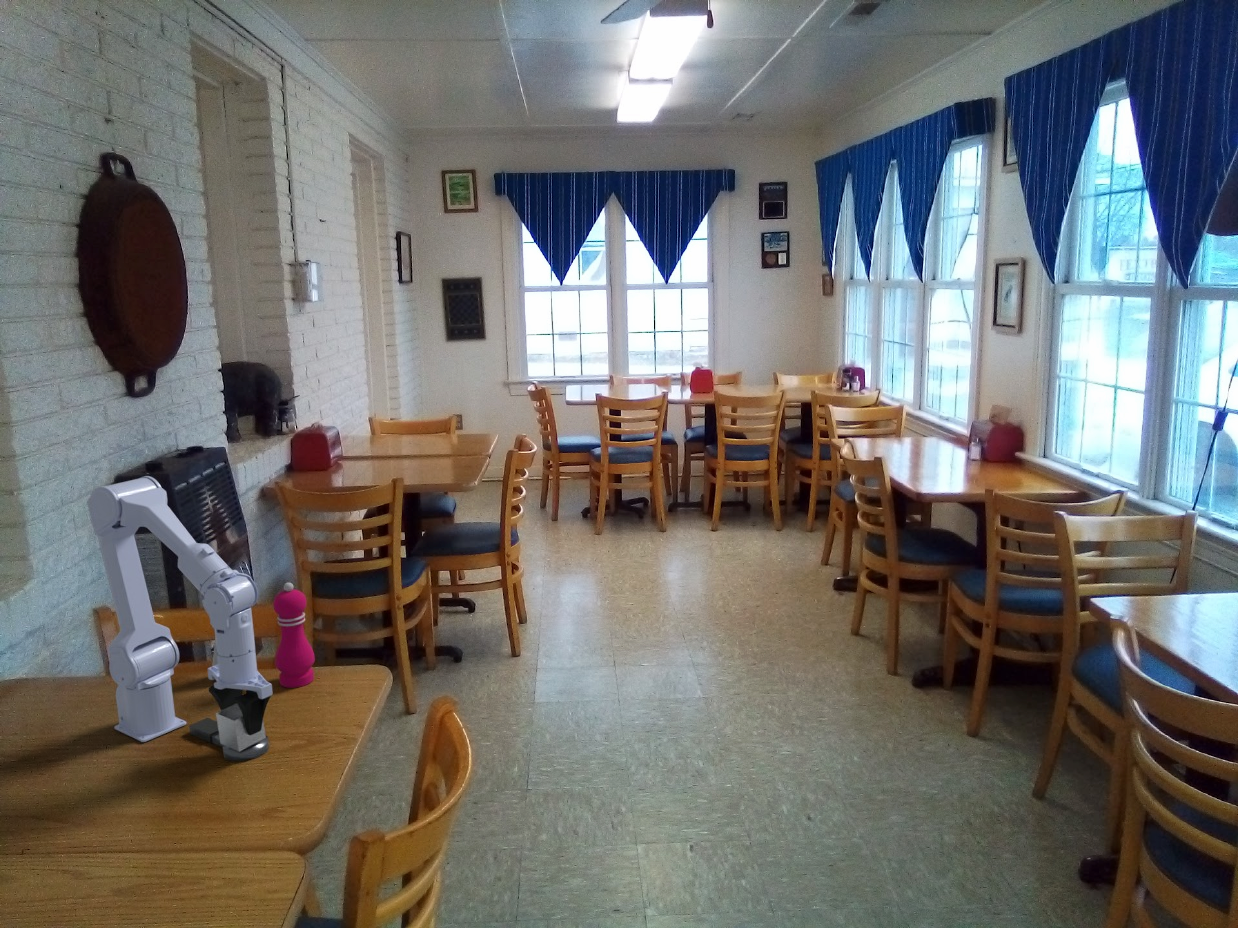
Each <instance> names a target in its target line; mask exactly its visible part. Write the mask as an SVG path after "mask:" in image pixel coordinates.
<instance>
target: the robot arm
mask: <svg viewBox="0 0 1238 928" xmlns="http://www.w3.org/2000/svg"><path fill="white" fill-rule="evenodd" d="M86 504H87V508H88V511H89V512H88V513H89V516H90V519H91V524H92V528H93V532H94V535H95V536H96V537H97V542H98V544H99V548H100V552H101V556H102V560H103V565H104V568H105V572H106V577H107V581H108V585H109V589H110V593H111V596H112V597H111V598H112V600H113V601H112V602H113V605H114V610H115V612H116V613H115V614H116V617H117V621H118V625H119V629H120V630H119V631H118V633H117V635H116V636H115V637H114V639H113V640H112V641H111V642H110V644H109V645H108V647H107V648H108V653H109V667H108V668H109V669H108V671H109V673H110V676H111V678H112V680H113V681H114V682H115V683H116V684H117V688H116V689H115V690H116V691H115V698H116V699H115V700H116V707H117V715H118V716H117V717H118V724H117V725H115V726H114V727H113V728H114V730H116V731H118V732H119V733H120V732H121V733H122V734H124V735H126V736H129V737H131V738H134V739H135V740H137V741H139V742H141V743H145V742H147V741H150V740H151V741H152V740H154V739H155V738H158V737H159V736H160V737H161V736H162V735H165V734H166V733H169V732H171V731H173V730H176V729H178V728H181V727H183V726H185V725H187V721H186V720H184V719H181V718H179V717H177V716H176V713H175V704H174V697H173V687H172V679H171V676H173V675H174V674H175V671H174V669H175V668H176V667H177V666H178V663H179V661H180V651H179V648H178V645H177V643H176V642H175V640H174V639H173V636H172V634H171V629H170V628H169V627H167V626H165V625H162V624H160V623H157V622H156V621H155V617H154V611H153V609H152V604H151V601H150V595H149V591H148V588H147V583H146V579H145V575H144V570H143V567H142V562H141V559H140V554H139V550H138V547H137V542H136V538H135V535H136V533H137V531H138V530H139V528H141V527H143V528H147V529H148V530H149V531H150V532H151V533H152V535H154V536H155V537H156V538H157V539H159V540H160V541H161V542H162V543H163V544H164V545H165V546H166V547H167V548H168V549H170V550H171V551H172V552H173V553H174V554H175V555H176V556H177V557H178V558H177V568H178V569H179V571H180V572H181V573H182V574H183V575H184V576H185V577H186V578H187V580H189V582H190V583H191V584H192V585H193V586H194V587H195V588H196V590H198V591H199V592H200V594H201V595H202V596H203V599H202V601H201V603H202V606H203V608H204V610H205V612H206V614H207V615H208V617H209V621H210V622H209V623H210V626H211V627H212V628H213V629H214V638H216V648H217V657H218V665H215V666H210V667H207V677H208V680H210V681H216V682H214V683H213V685H211V686H210V687H209V688H208V692H209V694H211V696H212V697H213V698H214V699H215V701H216V703H217V705H218V708H219V709H220V711H221V710H224V709H226V708H228V707H230V706H232V705H234V704H236V703H237V704H238V706H239V708H240V710H241V712H242V715H243V718H244V723H245V728H246V731H247V733H248V735H253V734H255V733H257V732H259V731H261V728H262V722H264V717H265V716H264V715H265V712H266V708H267V705H268V703H269V701H270V699H271V697H272V695H273V685H272V683H270V682H269V681H267V680H266V679H265V678H264V676H263V675H262V674H261V673H260V672H259V671H258V664H257V654H256V644H255V633H254V624H253V621H254V620H253V613H252V612H253V611H252V607H254V606H255V605H256V603H257V602H258V600H259V591H258V590H259V589H258V587H257V585H256V583H255V581H254V580H253V579H252V577H251V576H250V575H249V574H246V573H243V572H239V571H238V570H237V569H232V568H231V567H230V566H229V565H228V564H227V563H226V562H225V561H224V560H223V559H222V558H221V556H219V554H218V553H217V552H216V551H215V550H214V548H213V547H212V546H211V545H209V544H207V543H202V542H201V543H198V542H197V541H196V540H195V539H194V538H193V536H192V535H191V533H190V532H189V531H188V530H187V529H186V527H185V526H184V525H183V524H182V522H181V521H180V520H179V518H178V517H177V516H176V514H175V513H174V512H173V510H172V509H171V507H169V506H168V494H167V490H165V489H164V488H162V486H161V483H159V481H158V480H157V479H156V478H154V477H153V476H149V475H145V476H141V477H139V478H135V479H132V480H127V481H123V482H118V483H113V484H109V485H102V486H98V487H96V488H95V489H93V491H92V493H91V494H90V496H89V498H88V499H87V501H86ZM244 690H245V693H244V694H243V692H244Z"/></svg>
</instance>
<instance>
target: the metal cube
mask: <svg viewBox="0 0 1238 928" xmlns="http://www.w3.org/2000/svg"><path fill="white" fill-rule="evenodd" d="M215 716H216V721H217V724H218V730H219V736H220V743H221V744H223V745H225V746H227V747H229V748H232V749H234V750H236V751H238V752H240V751H241V750H243V749H245V748H247V747H249V746H251V745H253V744H255V743H257V742H259V741H261V740H262V739H264V738H266V736H267V734H266V729H265V723H264V721H263V722H262V728H261V731H259V732H257V733H255V734H253V735H248V733H247V731H246V728H245V723H244V718H243V715H242V712H241V710H240V708H239V706H238V704H237V703H236V704H234V705H232V706H230V707H228V708H226V709H224V710H221V709H220V710H219V711H218V712H216V713H215Z"/></svg>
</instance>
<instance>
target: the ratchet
mask: <svg viewBox="0 0 1238 928" xmlns="http://www.w3.org/2000/svg"><path fill="white" fill-rule="evenodd" d="M188 727H189V733H190V735H191V736H194V737H196V738H199V739H200V740H203V741H206V742H207V743H209V744H211V743H212V744H214V745H215V746H218V747H221V748H222V752H223V758H224V759H225V760H227V761H231V762H245V761H250V760H251V761H252V760H253V759H256V758H259V757H261V756H263V755H264V754H265V753H267V752H268V750H269V748H270V741H269V737H268V735H266V738H264V739H262V740H261V741H259V742H257V743H255V744H253V745H251V746H249V747H247V748H245V749H243V750H241V751H240V752H238V751H236V750H234V749H232V748H229V747H227V746H225V745H223V744H221V743H220V736H219V730H218V724H217V720H214V719H211V718H210V717H205V718H203V719H200V720H199V721H196V722H194V723H191V724H189V726H188Z"/></svg>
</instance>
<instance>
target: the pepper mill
mask: <svg viewBox="0 0 1238 928" xmlns="http://www.w3.org/2000/svg"><path fill="white" fill-rule="evenodd" d="M307 602H308V601H307V598H306V596H305V594H304V593H303V592H302V591H301V590H298V589H294V585H293V583H291V582H286V583H284V585H283V590H281V591H280V592H278V593H277V594H276V595H275V597H274V599H273V604H272V606H273V607H272V608H273V610H274V612H275V613H276V614H277V615H278V616H277V625H279V626H280V630H281V632H280V633H281V639H280V643H279V645H278V648H277V650H276V654H275V659H274V660H275V661H274V663H275V667H276V669H277V670H278V671H279V672H280V673H279V676H278V677H279V684H280V686H281V687H284V688H289V689H291V688H293V689H294V688H301V687H304V686H306V685H307V686H308V685H309V684H310V683H312V682H313V681H314V679H315V677H314V676H315V675H314V669H313V668H312V666H313V665H314V663H315V661H316V658H315V657H316V656H315V653H314V650H313V647H312V645H311V643H309V641H308V638H307V637H306V634H305V630H304V623H305V621H306V618H305V616H306V613H305V612H304V611H305V609H306V607H307Z"/></svg>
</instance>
